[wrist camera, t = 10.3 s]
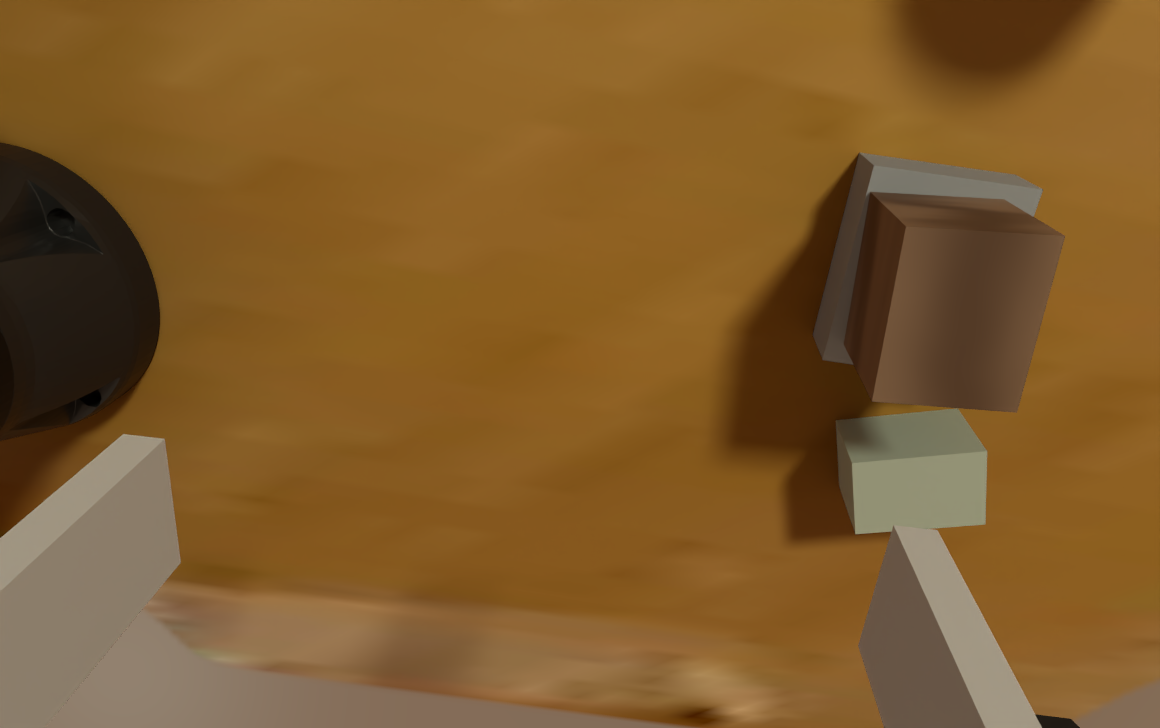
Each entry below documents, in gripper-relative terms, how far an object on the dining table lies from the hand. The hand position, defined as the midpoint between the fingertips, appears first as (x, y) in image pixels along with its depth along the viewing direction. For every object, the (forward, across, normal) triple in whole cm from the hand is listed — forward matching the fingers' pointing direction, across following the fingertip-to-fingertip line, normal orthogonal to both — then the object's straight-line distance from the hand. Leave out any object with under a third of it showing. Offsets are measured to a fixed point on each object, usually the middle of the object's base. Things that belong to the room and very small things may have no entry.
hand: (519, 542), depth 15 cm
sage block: (+27, +17, -11) cm, 34 cm away
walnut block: (+24, +14, -1) cm, 28 cm away
